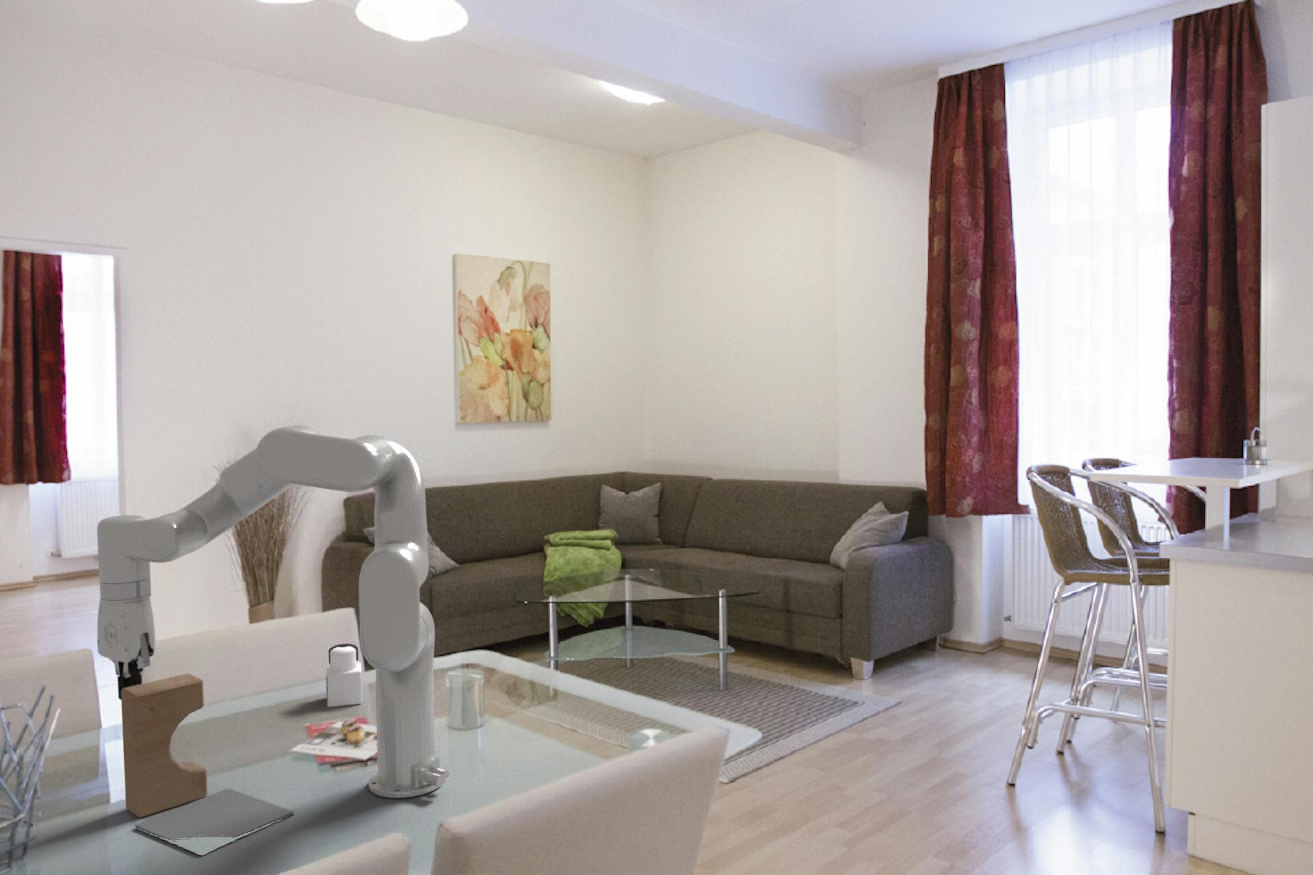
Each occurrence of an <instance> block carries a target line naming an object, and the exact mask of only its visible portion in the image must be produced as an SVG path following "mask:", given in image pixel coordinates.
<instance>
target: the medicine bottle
mask: <svg viewBox="0 0 1313 875" xmlns="http://www.w3.org/2000/svg"><path fill="white" fill-rule="evenodd" d="M325 672H326V676H325V677H326V678H325V680H326V681H325V683H326V707H327V708H334V707H335V708H337V707H343V706H344V707H346V706H352V705H353V706H355V705H362V704H363V678H362V676H363V675H362V663H361V662H359V647H358V646H357V645H355V644H353V643H340V644H336V645H333V646H332V647H330V648H329V649H328V665H327V666H326V670H325Z"/></svg>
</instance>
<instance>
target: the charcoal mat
mask: <svg viewBox="0 0 1313 875" xmlns="http://www.w3.org/2000/svg"><path fill="white" fill-rule="evenodd" d="M294 813H295V812H294V810H291V809H289V808H286V807H282V806H280V805H276V804H275V803H271V802H268V801H265V800H262V799H260V798H257V797H254V796H251V795H249V794H246V793H244V792H239V791H237V790H234V789H231V788H229V787H228V788H227V787H226V788H225V789H222V790H220V791H217V792H214V793H213V794H210V795H207V796H206V797H204V798H201V799H198V800H195V801H192V802H189V803H186V804H183V805H181V806H178V808H174V809H172V810H169V811H167V812H164V813H163V814H159V815H156V816H154V817H152V818H149V819H147V820H144V821H142V822H139V823H137V824H134V828H135V827H136V828H139V829H141V830H143V831H146V832H148V833H152V834H153V835H157V836H158V837H162V838H166V839H168V840H172V841H174V840H183V839H177V838H184V837H185V838H193V837H197V838H198V837H202V838H203V837H225V838H226V837H232V838H233V837H234V838H235V837H238V836H240V835H243V834H245V833H248V832H251V831H254V830H255V829H258V828H261V827H263V826H265V825H267V824H270V823H272V822H275V821H277V820H280V819H284V818H286V817H288V818H290V817H291V816H290V815H292V816H294V815H293V814H294ZM289 816H290V817H289ZM286 819H287V818H286ZM284 820H285V819H284ZM199 835H200V836H199ZM204 835H205V836H204ZM220 835H221V836H220ZM222 835H223V836H222ZM185 840H186V839H185ZM187 840H188V839H187ZM189 840H190V839H189ZM174 842H176V841H174Z"/></svg>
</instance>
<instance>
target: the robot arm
mask: <svg viewBox="0 0 1313 875" xmlns="http://www.w3.org/2000/svg"><path fill="white" fill-rule="evenodd" d="M295 485H296V486H297V485H298V486H304V487H310V488H317V489H323V490H331V491H338V492H342V493H343V492H345V493H359V492H363V491H364V492H365V491H368V490H369V489H371V488H372V489H373V491H374V497H375V501H374V511H373V514H374V515H373V516H374V517H373V518H374V549H373V551H372V552H370V553H369V555H368V556H366V558H365V560H364V562H363V563H362V565H361V569H360V574H359V578H358V579H359V580H358V604H359V605H358V606H359V611H358V613H359V639H360V640H359V641H360V647H361V652H362V654H363V657H364V659H366V662H367V663H368V664H369V665H370V666H371V667H372V668H374V669H375V709H376V710H375V711H376V712H375V713H376V718H375V719H376V743H377V744H376V745H377V746H376V748H377V749H376V750H377V771H376V772H375V773H373V774H372V775H371V776H370V778H369V779H368V789H369V790H370V792H372V793H373V794H374V795H377V796H379V797H383V798H388V799H404V798H405V799H407V798H414V797H418V796H422V795H426V794H428V793H432V792H433V791H435V790H437V789H438V788H441V787H443V785H444V784H445V782H446V780H447V779H448V778H449V776H450V771H449V770H448V769H444V768H442V767H440V757H437V756H436V754H435V753H436V752H435V750H436V749H435V745H436V743H435V713H434V712H435V711H434V710H435V709H434V703H435V702H434V693H435V692H434V691H435V690H434V687H435V686H434V680H435V679H434V663H435V662H434V657H435V638H436V637H435V636H436V634H435V633H436V629H435V622H434V618H433V616H432V614H431V612H430V610H429V609H428V607H427V606H426V605H424V604H423V602H421V601H420V600H421V599H420V596H421V595H420V590H421V589H420V588H421V587H422V586H423V584H424V582H425V581H426V579H427V577H428V574H429V567H430V562H429V549H428V547H429V546H428V545H429V544H428V523H427V505H426V504H427V503H426V502H427V501H426V499H427V498H426V488H425V482H424V477H423V473H422V471H421V468H420V466H419V464H418V462H417V461H416V459H415V457H414V456H413V455H412V454H411V453H410V452H409V451H408V449H406V448H404V446H402V445H401V444H399V443H398V442H396V441H394V440H392V439H389V438H387V437H384V436H380V435H362V436H359V437H356V438H346V437H345V438H344V437H336V436H328V435H323V434H319V433H318V432H317V431H316V430H314V429H313V428H311V427H308V426H305V425H299V424H297V425H290V426H285V427H284V426H283V427H277V428H275V429H273V430H271V431H269V432H267V433H266V434H265V435H263V437H262V438H261V439H260V440H259V442H258V444H257V446H256V448H254V449H253V450H252V451H250V452H248V453H247V454H246V455H244V456H242V457H241V458H238V460H236V461H235V462H233V463H231V464H230V465H229V466H226V468H224V469H223V470H222V471H221V473H220V474H219V480H218V482H216V483H215V484H214V485H213V487H211V488H210V489H209V490H207V491H206V492H204V493H203V494H202V495H200V496H199V497H197V498H196V499H195V500H192V501H191V502H190V503H188V504H187V505H186V506H184V507H181V509H179V510H177V511H174V512H170V513H166V514H163V515H161V516H157V517H154V518H153V517H152V518H149V519H146V518H145V517H143V516H142V515H141V516H140V515H131V514H130V515H113V516H108V517H106V518H103V519H101V520H100V521H99V522H98V523H97V527H96V534H97V558H98V559H97V560H98V576H99V578H98V579H99V596H100V597H99V599H100V600H99V604H98V610H97V611H98V612H97V630H96V631H97V635H96V636H97V641H96V642H97V643H96V644H97V653H98V654H99V655H100V656H101V657H103V658H106V659H108V660H109V661H111V662H113V664H114V670H115V675H116V676H117V691H118V692H117V696H118V699H119V700H121V690H122V689H123V688H126V687H131V686H135V685H140V684H143V678H142V677H143V676H142V674H143V673H144V669H145V668H147V667H150V666H151V660H150V658H151V657H153V655H155V653H156V631H155V620H154V615H153V614H154V613H153V608H152V607H153V606H152V602H151V598H152V585H151V584H152V582H151V581H152V580H151V564H150V563H159V564H162V563H163V564H164V563H168V562H173V561H175V560H178V559H179V558H182V557H185V556H187V555H188V554H191V553H194V552H195V551H198V550H199V549H201V548H203V547H204V546H206V545H208V544H209V543H211V542H212V541H214V540H215V539H217V538H218V537H220V536H221V535H222V534H224V533H226V532H228V530H230V529H231V528H233V527H234V526H236V525H237V524H239V523H240V522H241V521H243V520H244V519H245V518H247V517H249V516H251V515H252V514H254V513H255V512H256V511H258V510H260V509H261V508H262V507H263V506H264V505H266V504H268V503H269V502H271V501H272V500H274V499H275V498H277V497H278V496H279V495H281V494H282V493H283V492H285V491H287V490H288V489H290V488H291V487H293V486H295Z"/></svg>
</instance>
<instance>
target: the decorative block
mask: <svg viewBox="0 0 1313 875" xmlns="http://www.w3.org/2000/svg"><path fill="white" fill-rule="evenodd" d="M204 701H205V698H204V681H203V679H201V678H199V677H197V676H194V675H193V674H190V673H184V674H181V675H175V676H171V677H167V678H162V679H159V680H154V681H150V682H144V683H142V684H140V685H135V686H131V687H126V688H123V689H122V690H121V701H120V702H121V720H122V723H121V724H122V725H121V726H122V742H123V743H122V745H123V746H122V748H123V768H124V791H125V809H126V810H127V811H129V812H131V814H133V815H135V816H136V817H138V818H140V819H142V818H145V817H148V816H151V815H154V814H158V813H161V812H164V811H166V810H170V809H173V808H176V807H181V806H184V805H187V804H189V803H192V802H194V801H197V800H199V799H202V798H204V797H207V796H208V778H207V777H208V776H207V773H208V772H207V769H206V768H204V767H202V766H200V765H198V764H197V763H195V762H193V761H181V762H179V761H177V760H176V759H174V757H173V753H172V750H171V745H172V744H171V743H172V736H173V735H174V733H175V732H176V731H177V729H178V727H179V725H180V724H181V723H182V722H183V721H184V720H185V719H186V718H187V717H188V716H189V715H190V714H192V713H195V712H197V711H199V710H201V709H203V707H204V706H205V702H204Z"/></svg>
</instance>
